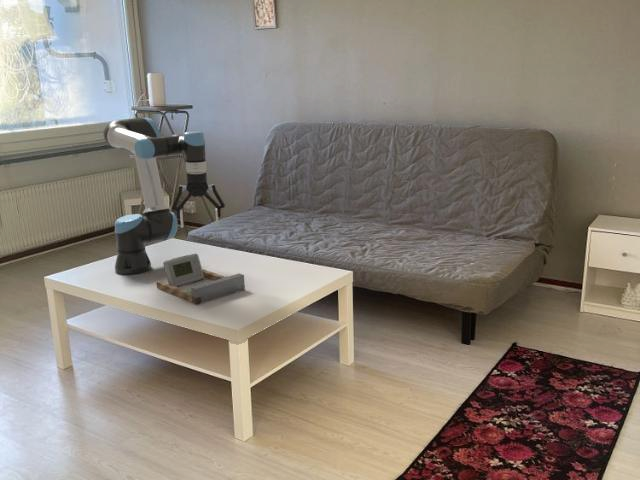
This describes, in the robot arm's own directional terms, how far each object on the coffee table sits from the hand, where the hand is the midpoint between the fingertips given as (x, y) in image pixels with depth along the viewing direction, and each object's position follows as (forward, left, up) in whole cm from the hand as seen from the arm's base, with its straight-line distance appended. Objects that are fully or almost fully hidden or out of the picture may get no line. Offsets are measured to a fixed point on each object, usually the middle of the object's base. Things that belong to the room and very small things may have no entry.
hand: (199, 226), depth 249 cm
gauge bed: (+5, -5, -23) cm, 24 cm away
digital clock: (-6, -5, -24) cm, 25 cm away
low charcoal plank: (+18, -5, -23) cm, 30 cm away
